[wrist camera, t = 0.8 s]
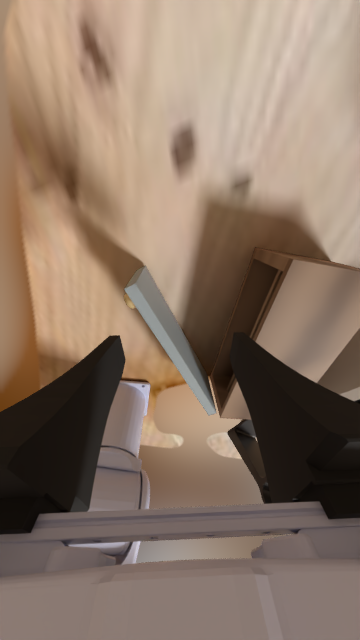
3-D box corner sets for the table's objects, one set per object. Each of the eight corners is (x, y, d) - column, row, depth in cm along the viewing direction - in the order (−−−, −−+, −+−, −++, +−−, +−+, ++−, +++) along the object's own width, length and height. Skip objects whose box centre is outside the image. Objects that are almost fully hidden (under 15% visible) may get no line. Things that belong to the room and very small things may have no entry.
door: (195, 380, 27) (202, 419, 22) (129, 274, 19) (112, 294, 13) (208, 376, 27) (217, 414, 21) (145, 265, 18) (135, 283, 13)
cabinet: (209, 377, 27) (220, 417, 22) (255, 247, 18) (293, 259, 13) (263, 381, 28) (286, 421, 23) (331, 261, 19) (398, 278, 14)
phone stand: (260, 407, 32) (304, 498, 21) (281, 418, 34) (331, 506, 23) (227, 431, 35) (250, 520, 25) (247, 439, 37) (277, 525, 27)
